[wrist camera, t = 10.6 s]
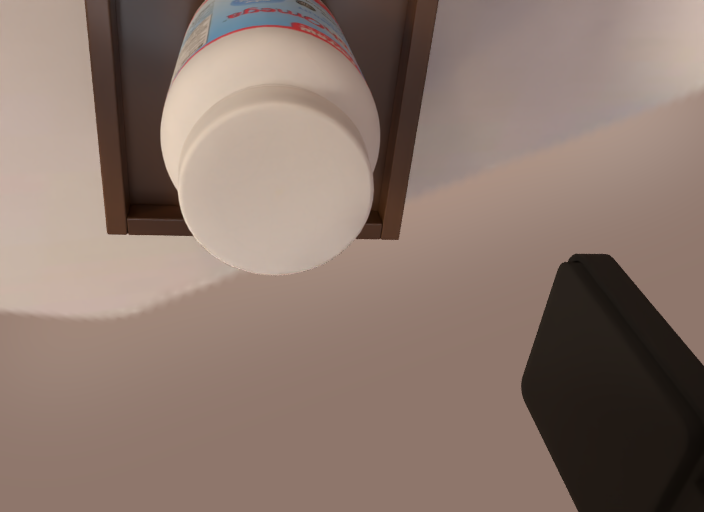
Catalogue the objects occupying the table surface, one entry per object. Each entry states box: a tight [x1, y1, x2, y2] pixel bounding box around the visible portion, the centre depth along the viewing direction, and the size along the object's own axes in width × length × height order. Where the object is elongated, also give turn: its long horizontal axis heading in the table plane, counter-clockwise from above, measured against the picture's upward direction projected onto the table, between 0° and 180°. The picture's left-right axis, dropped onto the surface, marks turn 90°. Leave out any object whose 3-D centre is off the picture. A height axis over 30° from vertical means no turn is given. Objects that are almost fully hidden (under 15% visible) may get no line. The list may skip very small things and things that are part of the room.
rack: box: [85, 0, 439, 240], centre depth 29 cm, size 14×12×10 cm
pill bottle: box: [160, 0, 380, 275], centre depth 21 cm, size 6×6×11 cm
